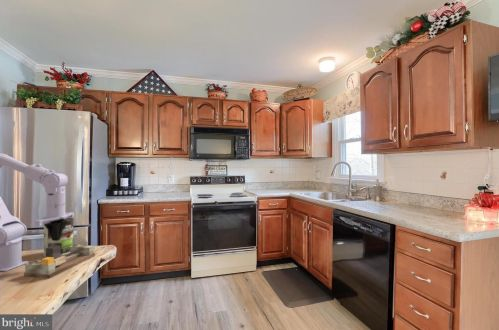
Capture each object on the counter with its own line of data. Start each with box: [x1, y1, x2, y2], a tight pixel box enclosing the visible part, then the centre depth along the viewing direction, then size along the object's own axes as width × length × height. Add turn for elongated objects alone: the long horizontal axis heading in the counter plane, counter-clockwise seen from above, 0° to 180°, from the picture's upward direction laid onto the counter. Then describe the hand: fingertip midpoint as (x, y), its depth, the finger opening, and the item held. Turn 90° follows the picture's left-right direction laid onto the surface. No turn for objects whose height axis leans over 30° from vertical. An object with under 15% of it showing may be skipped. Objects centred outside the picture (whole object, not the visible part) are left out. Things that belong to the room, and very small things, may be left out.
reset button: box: [41, 257, 54, 265], centre depth 83 cm, size 2×2×2 cm
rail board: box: [23, 243, 96, 279], centre depth 92 cm, size 10×20×5 cm, turn 172°
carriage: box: [40, 245, 66, 266], centre depth 88 cm, size 6×4×6 cm, turn 83°
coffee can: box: [43, 217, 74, 258], centre depth 105 cm, size 10×10×14 cm
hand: (56, 240), depth 93 cm, fingers closed
